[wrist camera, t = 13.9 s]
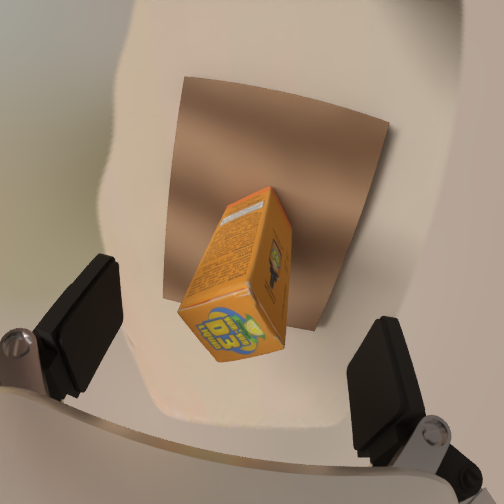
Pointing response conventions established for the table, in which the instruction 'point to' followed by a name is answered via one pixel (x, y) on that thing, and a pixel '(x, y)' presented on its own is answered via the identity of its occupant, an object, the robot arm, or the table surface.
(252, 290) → the supplement box
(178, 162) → the walnut board
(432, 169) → the table surface
